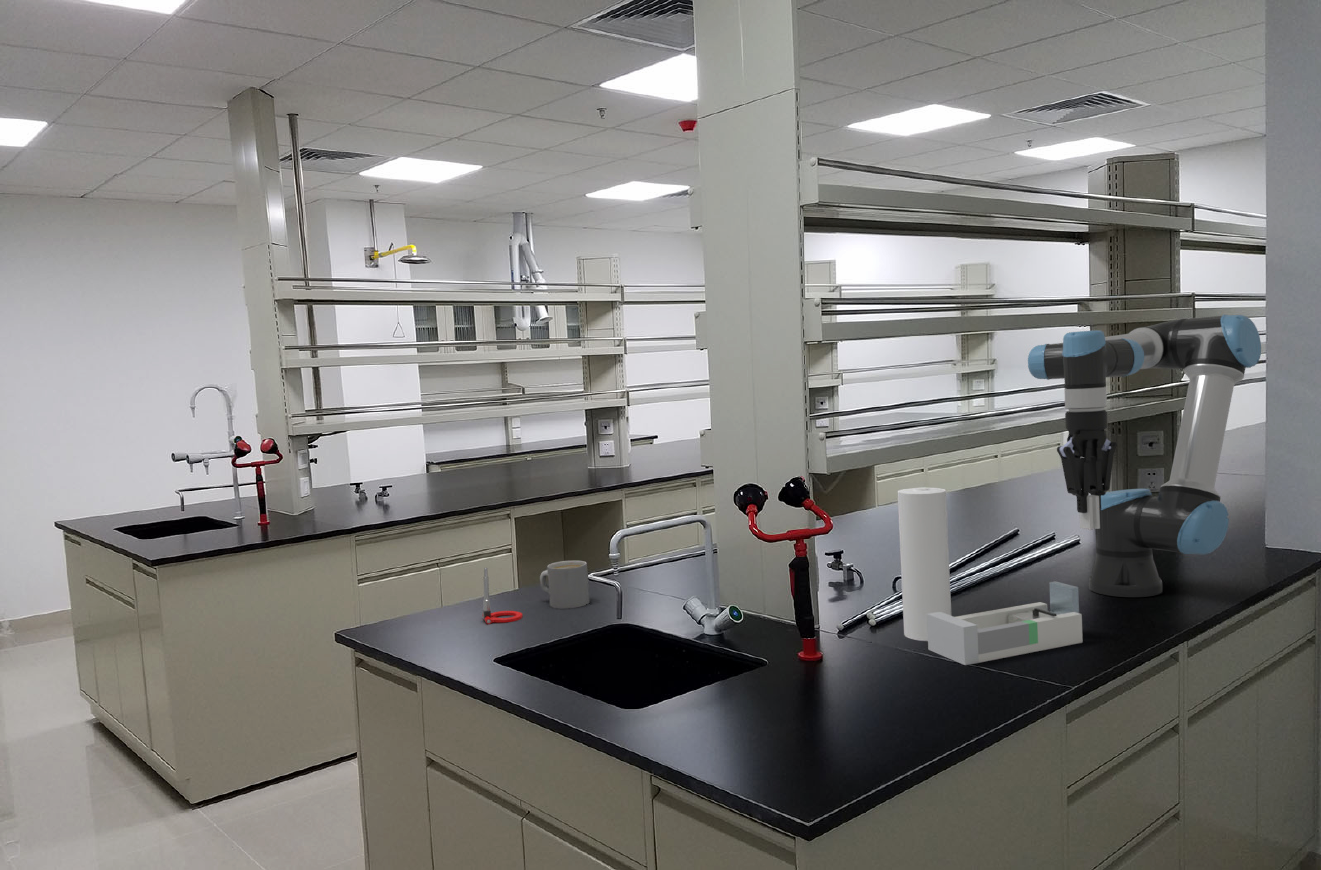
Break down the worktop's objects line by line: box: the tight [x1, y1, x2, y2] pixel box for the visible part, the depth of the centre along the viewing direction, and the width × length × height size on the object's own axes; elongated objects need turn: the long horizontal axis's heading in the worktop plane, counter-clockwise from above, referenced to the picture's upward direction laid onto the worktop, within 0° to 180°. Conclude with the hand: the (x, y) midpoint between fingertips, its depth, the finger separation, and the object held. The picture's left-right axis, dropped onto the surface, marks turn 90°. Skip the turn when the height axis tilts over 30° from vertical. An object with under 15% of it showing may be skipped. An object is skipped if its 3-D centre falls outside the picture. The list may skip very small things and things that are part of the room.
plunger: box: [1003, 581, 1080, 625], centre depth 178 cm, size 16×8×8 cm, turn 109°
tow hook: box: [482, 567, 523, 625], centre depth 222 cm, size 8×13×9 cm
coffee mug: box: [539, 560, 590, 610], centre depth 234 cm, size 13×10×10 cm
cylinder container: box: [897, 486, 952, 642], centre depth 187 cm, size 9×9×30 cm
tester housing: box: [927, 601, 1083, 666], centre depth 177 cm, size 27×11×7 cm, turn 110°
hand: (1089, 528), depth 183 cm, fingers closed
